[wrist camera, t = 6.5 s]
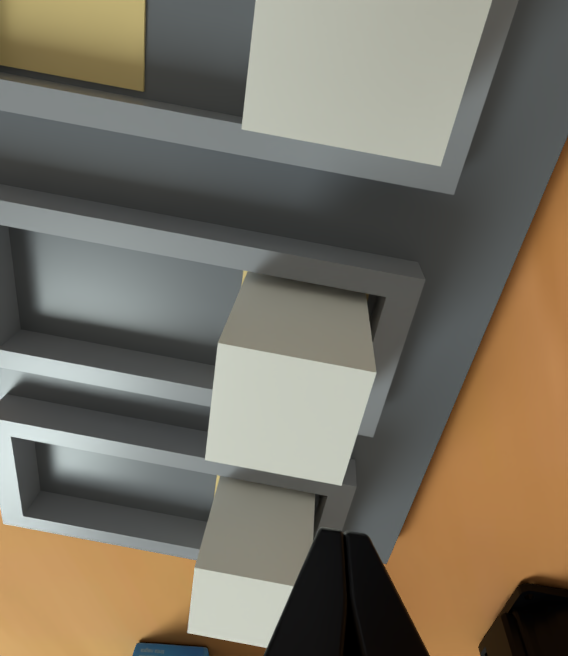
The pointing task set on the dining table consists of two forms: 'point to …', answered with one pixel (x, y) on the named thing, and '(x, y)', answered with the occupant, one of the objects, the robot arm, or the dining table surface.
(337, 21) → the tab
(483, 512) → the dining table surface
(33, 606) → the dining table surface
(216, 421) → the tab
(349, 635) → the robot arm
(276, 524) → the tab
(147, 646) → the ink box
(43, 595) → the dining table surface
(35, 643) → the dining table surface
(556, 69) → the switch board
